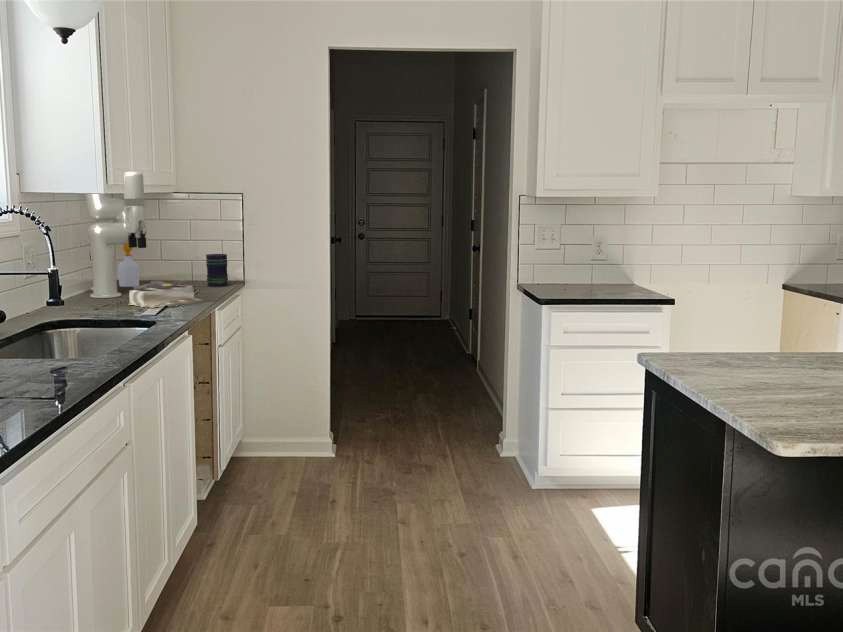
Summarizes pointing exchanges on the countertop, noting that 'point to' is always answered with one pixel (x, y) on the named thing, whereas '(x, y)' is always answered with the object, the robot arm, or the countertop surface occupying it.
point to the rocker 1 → (144, 286)
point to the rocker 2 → (179, 282)
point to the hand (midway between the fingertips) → (137, 247)
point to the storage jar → (217, 270)
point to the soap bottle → (128, 270)
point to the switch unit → (163, 296)
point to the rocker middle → (162, 284)
